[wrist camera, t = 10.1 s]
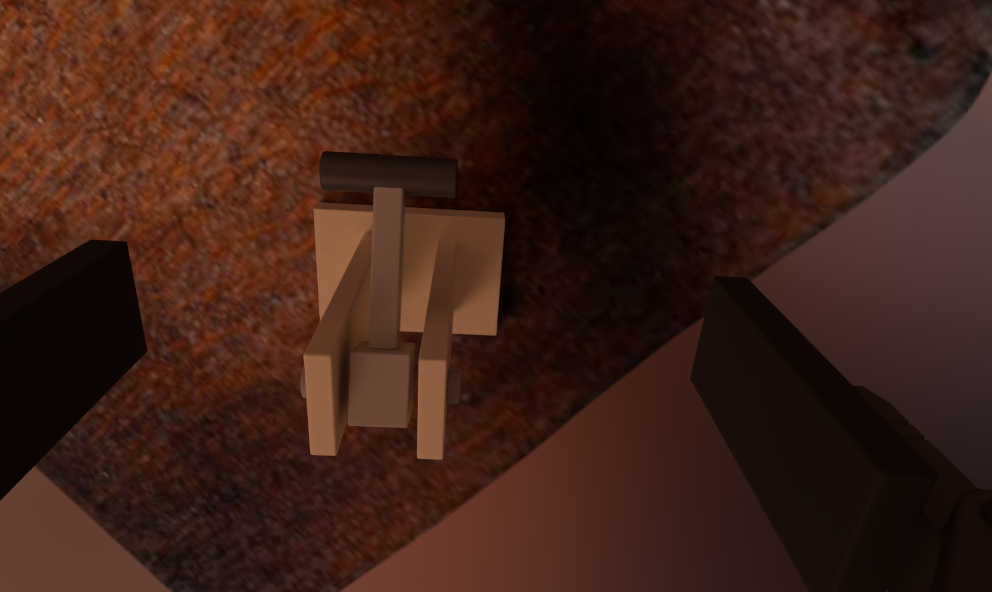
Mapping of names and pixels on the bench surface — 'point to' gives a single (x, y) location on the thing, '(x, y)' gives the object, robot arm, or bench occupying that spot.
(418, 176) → the lever
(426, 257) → the bracket
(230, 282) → the bench surface
